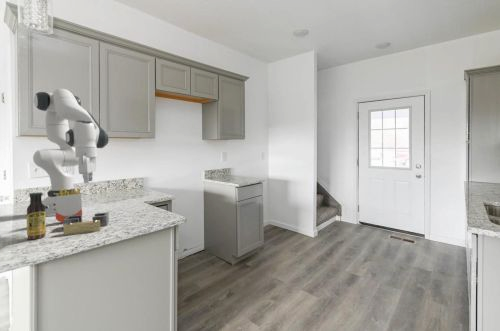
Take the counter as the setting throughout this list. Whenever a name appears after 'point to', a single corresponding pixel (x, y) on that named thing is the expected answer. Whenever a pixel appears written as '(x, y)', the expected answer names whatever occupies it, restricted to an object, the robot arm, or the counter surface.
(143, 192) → the counter surface
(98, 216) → the chain end right
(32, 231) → the sauce bottle
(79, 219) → the chain end left
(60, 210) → the french fries container
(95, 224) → the link
